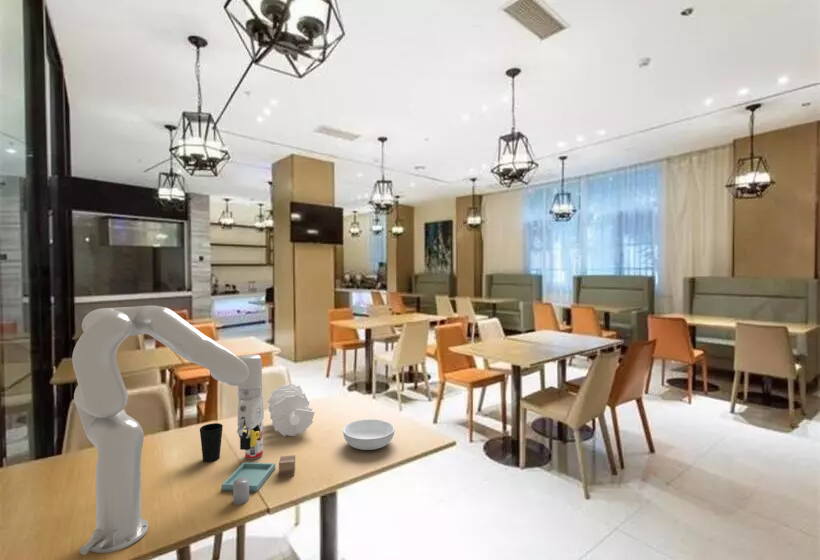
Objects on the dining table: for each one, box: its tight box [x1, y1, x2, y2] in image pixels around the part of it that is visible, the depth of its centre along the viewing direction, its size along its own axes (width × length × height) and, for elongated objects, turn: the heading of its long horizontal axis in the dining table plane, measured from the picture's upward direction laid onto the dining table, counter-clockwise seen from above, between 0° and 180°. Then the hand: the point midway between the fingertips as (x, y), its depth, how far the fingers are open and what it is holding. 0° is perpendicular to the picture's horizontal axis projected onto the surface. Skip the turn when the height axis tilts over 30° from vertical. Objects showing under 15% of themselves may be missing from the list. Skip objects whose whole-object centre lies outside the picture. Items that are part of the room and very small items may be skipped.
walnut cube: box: [278, 454, 296, 478], centre depth 135 cm, size 5×5×5 cm
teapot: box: [244, 430, 260, 447], centre depth 131 cm, size 8×6×5 cm
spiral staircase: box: [267, 382, 316, 437], centre depth 174 cm, size 18×18×25 cm
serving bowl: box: [342, 418, 396, 451], centre depth 158 cm, size 21×21×7 cm
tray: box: [221, 461, 276, 493], centre depth 131 cm, size 15×12×2 cm
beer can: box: [244, 419, 264, 460], centre depth 147 cm, size 6×6×16 cm
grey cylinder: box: [232, 477, 250, 506], centre depth 119 cm, size 4×4×6 cm
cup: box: [199, 422, 224, 463], centre depth 145 cm, size 8×8×12 cm
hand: (250, 443), depth 131 cm, fingers closed on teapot, 6 cm apart
